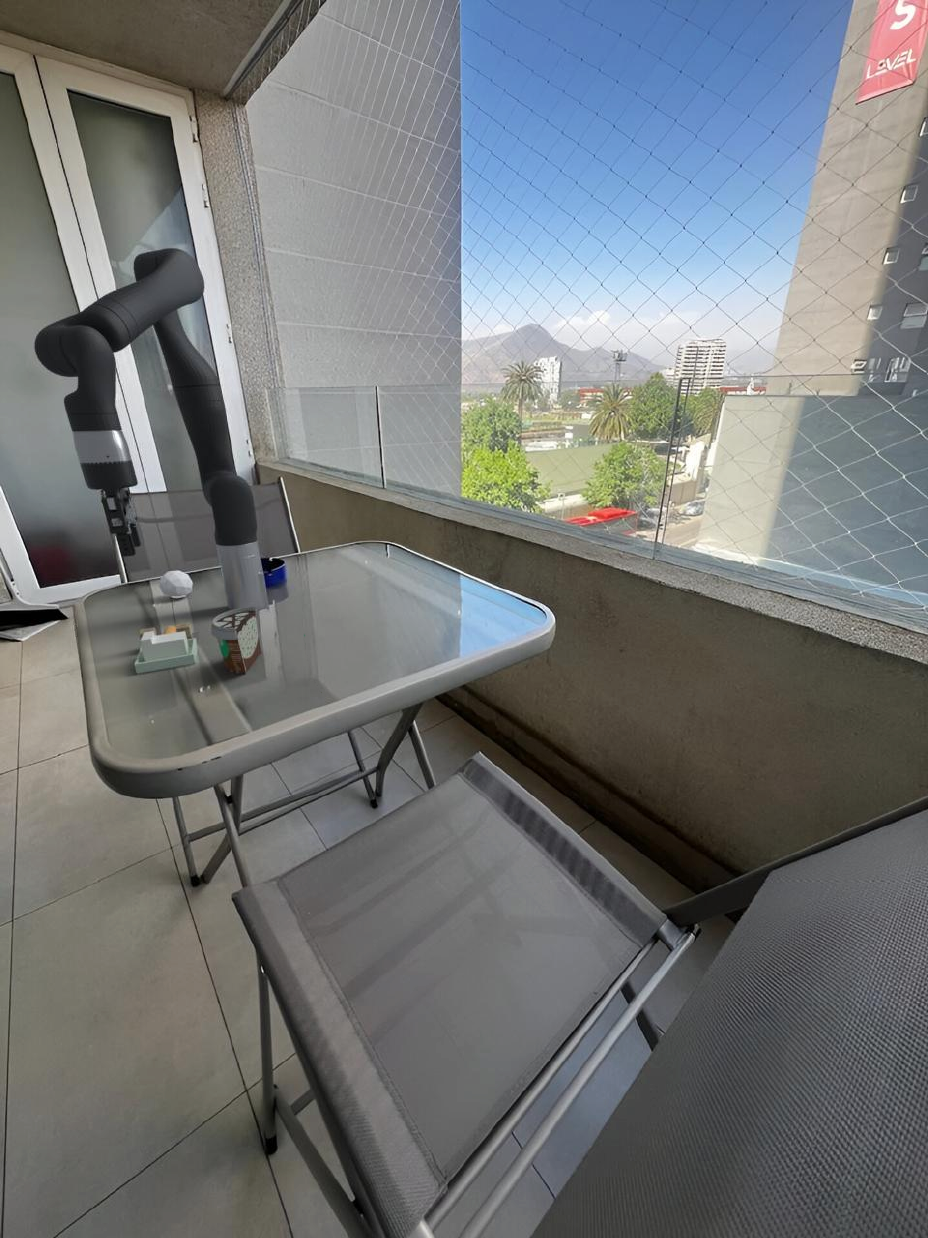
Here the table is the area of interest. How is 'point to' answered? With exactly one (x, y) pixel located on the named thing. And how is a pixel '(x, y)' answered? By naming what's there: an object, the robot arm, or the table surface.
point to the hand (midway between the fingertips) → (132, 551)
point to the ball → (176, 583)
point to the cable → (170, 630)
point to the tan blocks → (179, 628)
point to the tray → (167, 660)
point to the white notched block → (164, 645)
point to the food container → (238, 638)
